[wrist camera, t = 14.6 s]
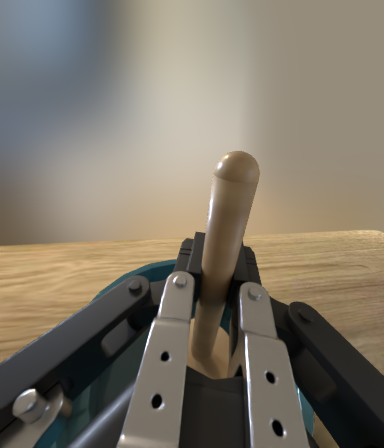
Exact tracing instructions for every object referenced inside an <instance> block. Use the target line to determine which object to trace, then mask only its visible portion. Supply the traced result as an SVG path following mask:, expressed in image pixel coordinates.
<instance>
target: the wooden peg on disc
mask: <svg viewBox="0 0 384 448" xmlns="http://www.w3.org/2000/svg"><path fill="white" fill-rule="evenodd" d="M259 175H260V172H259V166H258V164H257V162H256V160H255V159H254V158H253V157H252V156H251V155H250V154H248V153H245V152H242V151H234V152H230V153H228V154H226V155H224V156H223V157H222V158H221V159H220V160H219V161H218V162H217V164H216V166H215V168H214V172H213V180H212V188H211V196H210V204H209V211H208V218H207V226H206V234H205V242H204V249H203V257H202V272H201V280H200V287H199V295H198V302H197V304H196V312H195V319H191V323H190V334H189V344H188V354H187V364H186V365H187V366H189V367H191V368H193V369H194V370H196V371H198V372H200V373H202V374H204V375H205V376H207V377H209V378H211V379H223V378H227V370H228V364H229V336H228V334H227V333H226V332H225V331H224V330H223V329H222V328H221V327H220V322H221V318H222V314H223V311H224V307H225V303H226V299H227V295H228V292H229V288H230V284H231V281H232V277H233V273H234V270H235V266H236V262H237V259H238V255H239V251H240V247H241V244H242V240H243V236H244V233H245V229H246V225H247V221H248V218H249V214H250V210H251V207H252V203H253V199H254V195H255V192H256V188H257V184H258V181H259Z"/></svg>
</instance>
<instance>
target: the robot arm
mask: <svg viewBox="0 0 384 448" xmlns="http://www.w3.org/2000/svg"><path fill="white" fill-rule="evenodd" d="M205 234H206V233H201V232H196V233H195V237H194V239H189V238H186V239H185V240H184V241H183V242H182V245H181V248H180V251H179V254H178V258H177V261H176V264H175V267H174V271H173V273H172V274H170V275H169V276H168V278H167V279H165V280H162V281H157V282H149V280H148V279H147V278H146V277H144V276H140V275H136V276H131V277H129V278H127V279H126V280H124V281H123V282H121V283H120V284H118V285H117V286H115V287H114V288H112V289H111V290H109V291H108V292H106V293H105V294H103V295H102V296H100V297H99V298H97V299H96V300H94V301H93V302H91V303H90V304H88V305H87V306H85V307H84V308H82V309H81V310H79V311H78V312H76V313H75V314H73V315H72V316H70V317H69V318H67V319H66V320H64V321H63V322H61V323H60V324H58V325H57V326H55V327H54V328H52V329H51V330H49V331H48V332H46V333H45V334H43V335H42V336H40V337H39V338H37V339H36V340H34V341H33V342H31V343H30V344H28V345H27V346H25V347H24V348H22V349H21V350H19V351H18V352H16V353H15V354H13V355H12V356H10V357H9V358H7V359H6V360H4V361H3V362H1V363H0V448H51V446H52V445H53V443H54V442H55V441H56V439H57V438H58V437H59V436H60V434H61V433H62V432H63V430H64V429H65V427H66V425H67V423H68V421H69V419H70V416H71V412H72V402H73V401H74V400H75V399H76V398H77V397H78V396H79V395H80V394H81V393H82V392H83V391H84V390H85V389H86V388H87V387H88V386H89V385H90V384H91V383H92V382H93V381H94V380H96V379H97V378H98V377H99V376H100V375H101V374H102V373H103V372H104V371H105V370H106V369H107V368H108V367H109V366H110V365H111V364H112V363H113V362H114V361H115V360H116V359H117V358H118V357H119V356H120V355H121V354H122V353H123V352H124V351H125V350H126V349H127V348H128V347H129V346H130V345H131V344H132V343H134V342H135V341H136V340H137V339H138V338H139V337H140V336H141V335H142V334H143V333H144V332H145V331H146V330H147V329H148V328H149V327H150V325H152V326H151V329H150V333H149V337H148V340H147V344H146V347H145V351H144V354H143V358H142V361H141V365H140V369H139V372H138V376H137V377H136V378H135V379H134V380H132V381H131V382H130V383H129V384H128V385H127V386H126V387H125V388H124V389H123V390H122V391H121V392H120V393H119V394H118V395H117V396H116V397H115V398H114V399H113V400H112V401H111V402H110V403H109V404H107V405H106V406H105V407H104V408H103V409H102V410H101V411H100V412H99V413H98V414H97V415H96V416H95V417H94V418H93V419H92V420H91V421H90V422H89V423H88V424H87V425H86V426H85V427H84V428H83V429H82V430H81V431H80V432H79V433H78V434H77V435H76V436H75V437H74V438H73V439H72V440H71V441H70V442H69V443H68V444H67V445H66V446H65V447H64V448H320V447H319V446H318V445H317V443H316V442H315V440H314V439H313V437H312V436H311V435H310V433H309V432H308V430H307V429H306V427H305V425H304V421H303V416H302V412H301V408H300V403H299V399H298V395H297V390H296V386H295V384H296V385H297V387H298V388H299V389H300V391H301V392H302V394H303V395H304V397H305V398H306V400H307V401H308V403H309V404H310V405H311V407H312V408H313V410H314V411H315V413H316V414H317V416H318V417H319V418H320V420H321V421H322V423H323V424H324V426H325V427H326V429H327V430H328V431H329V433H330V434H331V436H332V437H333V439H334V440H335V442H336V443H337V444H338V446H339V447H340V448H384V376H383V375H382V374H381V373H380V372H379V371H378V370H377V369H376V368H375V367H374V366H373V365H372V364H371V363H370V362H369V361H368V360H367V359H366V358H365V357H364V356H363V355H361V354H360V353H359V352H358V351H357V350H356V349H355V348H354V347H353V346H352V345H351V344H350V343H349V342H348V341H347V340H346V339H345V338H344V337H343V336H342V335H341V334H340V333H339V332H338V331H337V330H336V329H335V328H333V327H332V326H331V325H330V324H329V323H328V322H327V321H326V320H325V319H324V318H323V317H322V316H321V315H320V314H319V313H318V312H317V311H316V310H315V309H314V308H312V307H311V306H309V305H307V304H305V303H302V302H292V303H291V304H290V305H289V306H288V305H286V304H284V303H281V302H279V301H277V300H275V299H273V298H271V297H270V296H269V294H268V292H267V291H266V289H265V288H264V287H262V285H261V280H260V276H259V272H258V267H257V263H256V258H255V254H254V252H253V251H252V249H251V248H250V247H246V246H244V245H243V240H242V244H241V247H240V251H239V255H238V259H237V262H236V266H235V270H234V273H233V277H232V281H231V284H230V288H229V292H228V295H227V299H226V308H229V309H231V318H230V332H229V364H228V370H227V378H223V379H211V378H209V377H207V376H205V375H204V374H202V373H200V372H198V371H196V370H194V369H193V368H191V367H189V366H187V365H186V364H187V354H188V344H189V334H190V323H191V314H192V311H193V305H194V303H197V302H198V295H199V287H200V280H201V272H202V257H203V249H204V242H205Z"/></svg>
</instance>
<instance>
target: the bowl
mask: <svg viewBox="0 0 384 448" xmlns="http://www.w3.org/2000/svg"><path fill="white" fill-rule="evenodd" d="M176 261H177V260H167V261H162V262H157V263H151V264H148V265H145V266H143V267H141V268H138V269H136V270H134V271H131V272H129V273H126V274H125V275H123V276H121V277H120V278H119V279H117V280H116V281H114V282H113V283H112V284H110V285H109V286H107V287H106V288H105V289H103V290H102V291H100V292H99V293H98V294H97V296H96V297H95V298H94V299H93V300H92V301H91V302H93V301H94V300H96V299H97V298H99V297H100V296H102V295H103V294H105V293H106V292H108V291H109V290H111V289H112V288H114V287H115V286H117V285H118V284H120V283H121V282H123V281H124V280H126V279H127V278H129V277H131V276H136V275H140V276H144V277H146V278H147V279H148V280H149V282H157V281H162V280H165V279H167V278H168V276H169V275H170V274H172V273H173V271H174V267H175V264H176ZM91 302H90V303H91ZM90 303H89V304H90ZM196 304H197V303H194V305H193V311H192V314H191V319H195V312H196ZM230 318H231V309H229V308H226V303H225V307H224V311H223V314H222V318H221V322H220V327H221V328H222V329H223V330H224V331H225V332H226V333H227V334H228V336H229V332H230ZM151 326H152V325H150V327H149V328H148V329H147V330H146V331H145V332H144V333H143V334H142V335H141V336H140V337H139V338H138V339H137V340H136V341H135V342H134V343H132V344H131V345H130V346H129V347H128V348H127V349H126V350H125V351H124V352H123V353H122V354H121V355H120V356H119V357H118V358H117V359H116V360H115V361H114V362H113V363H112V364H111V365H110V366H109V367H108V368H107V369H106V370H105V371H104V372H103V373H102V374H101V375H100V376H99V377H98V378H97V379H96V380H94V381H93V382H92V383H91V384H90V385H89V386H88V387H87V388H86V389H85V390H84V391H83V392H82V393H81V394H80V395H79V396H78V397H77V398H76V399H75V400H74V401H73V402H72V412H71V416H70V419H69V421H68V423H67V425H66V427H65V429H64V430H63V432H62V433H61V434H60V436H59V437H58V438H57V439H56V441H55V442H54V443H53V445H52V446H51V448H64V447H65V446H66V445H67V444H68V443H69V442H70V441H71V440H72V439H73V438H74V437H75V436H76V435H77V434H78V433H79V432H80V431H81V430H82V429H83V428H84V427H85V426H86V425H87V424H88V423H89V422H90V421H91V420H92V419H93V418H94V417H95V416H96V415H97V414H98V413H99V412H100V411H101V410H102V409H103V408H104V407H105V406H106V405H107V404H109V403H110V402H111V401H112V400H113V399H114V398H115V397H116V396H117V395H118V394H119V393H120V392H121V391H122V390H123V389H124V388H125V387H126V386H127V385H128V384H129V383H130V382H131V381H132V380H134V379H135V378H136V377H137V376H138V372H139V369H140V365H141V361H142V358H143V354H144V351H145V347H146V344H147V340H148V337H149V333H150V329H151ZM295 386H296V390H297V395H298V399H299V403H300V408H301V412H302V416H303V421H304V425H305V427H306V429H307V430H308V432H309V433H310V435H311V436H312V437H313V429H314V412H313V408H312V407H311V405H310V404H309V403H308V401H307V400H306V398H305V397H304V395H303V394H302V392H301V391H300V389H299V388H298V387H297V385H296V384H295Z"/></svg>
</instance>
